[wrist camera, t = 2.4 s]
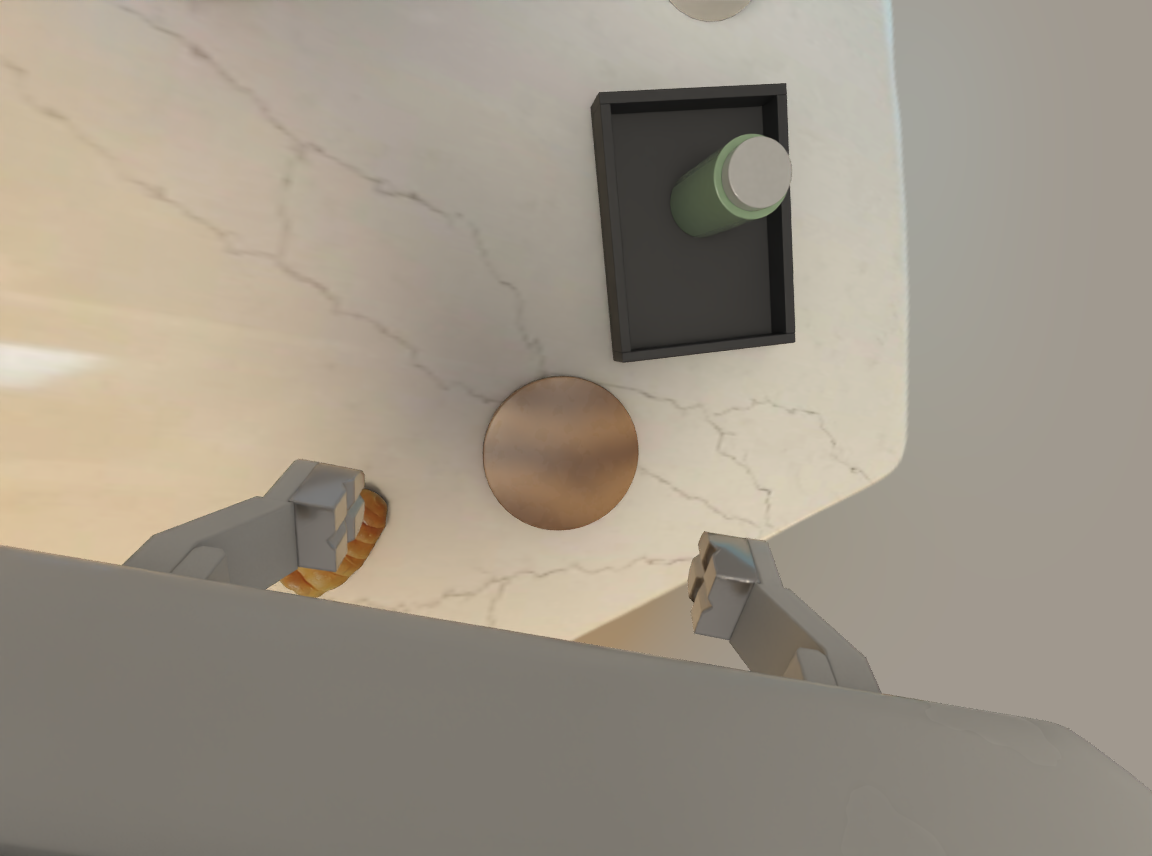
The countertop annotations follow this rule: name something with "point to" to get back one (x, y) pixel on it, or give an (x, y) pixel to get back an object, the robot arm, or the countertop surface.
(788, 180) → the salt shaker
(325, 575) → the pastry
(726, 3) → the base with upright slab
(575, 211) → the countertop surface
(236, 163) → the countertop surface
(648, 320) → the tray
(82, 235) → the countertop surface
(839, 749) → the robot arm
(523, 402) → the coaster
